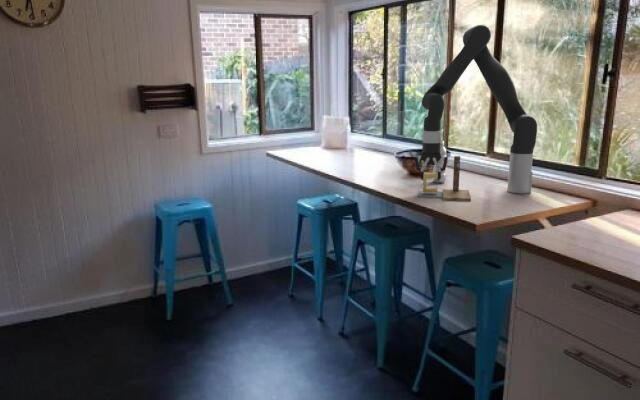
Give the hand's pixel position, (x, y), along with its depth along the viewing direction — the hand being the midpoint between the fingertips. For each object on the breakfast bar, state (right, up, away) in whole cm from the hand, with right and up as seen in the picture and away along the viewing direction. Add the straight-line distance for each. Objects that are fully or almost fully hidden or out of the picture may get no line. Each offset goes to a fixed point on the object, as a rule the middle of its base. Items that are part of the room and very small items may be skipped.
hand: (430, 179), depth 218 cm
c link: (0, -5, +1) cm, 5 cm away
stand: (+11, -7, -2) cm, 13 cm away
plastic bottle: (+9, -1, +24) cm, 26 cm away
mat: (0, -6, +2) cm, 7 cm away
